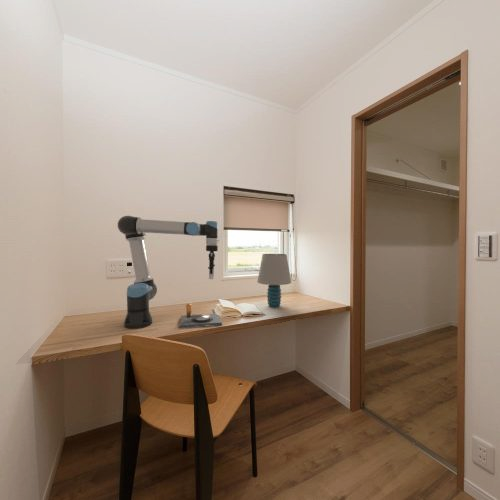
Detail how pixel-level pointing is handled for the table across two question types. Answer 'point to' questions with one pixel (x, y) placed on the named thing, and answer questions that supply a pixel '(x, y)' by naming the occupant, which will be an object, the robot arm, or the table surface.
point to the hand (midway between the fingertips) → (211, 277)
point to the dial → (196, 316)
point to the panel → (191, 322)
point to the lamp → (274, 276)
